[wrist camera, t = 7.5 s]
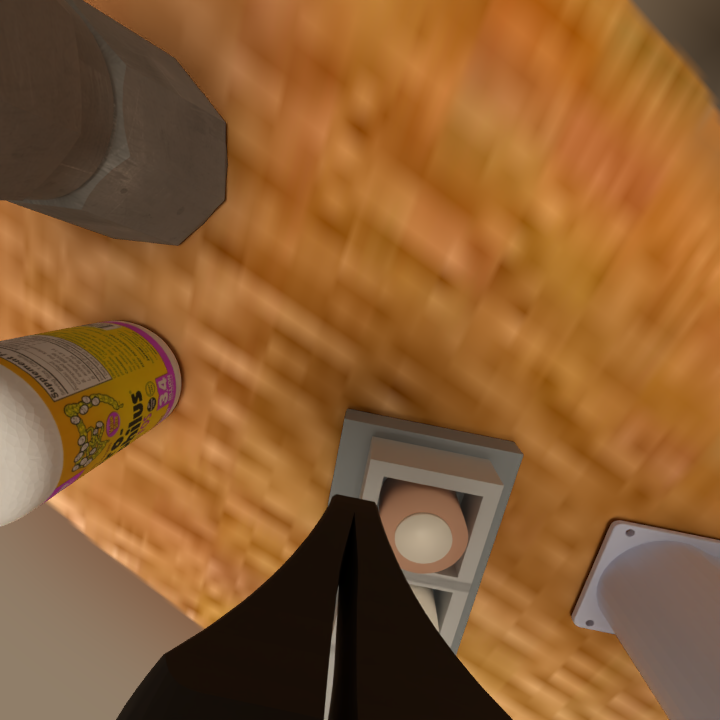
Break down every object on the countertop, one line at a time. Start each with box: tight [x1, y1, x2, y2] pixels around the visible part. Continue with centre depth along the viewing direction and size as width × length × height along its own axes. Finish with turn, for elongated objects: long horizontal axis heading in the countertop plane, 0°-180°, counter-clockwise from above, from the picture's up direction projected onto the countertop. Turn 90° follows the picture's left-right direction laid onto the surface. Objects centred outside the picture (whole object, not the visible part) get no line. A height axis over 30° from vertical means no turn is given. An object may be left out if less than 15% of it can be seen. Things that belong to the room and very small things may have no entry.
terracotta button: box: [379, 477, 468, 574], centre depth 19 cm, size 4×4×3 cm
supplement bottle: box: [0, 321, 181, 526], centre depth 16 cm, size 7×7×13 cm
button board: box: [324, 409, 523, 720], centre depth 22 cm, size 10×20×4 cm, turn 169°
